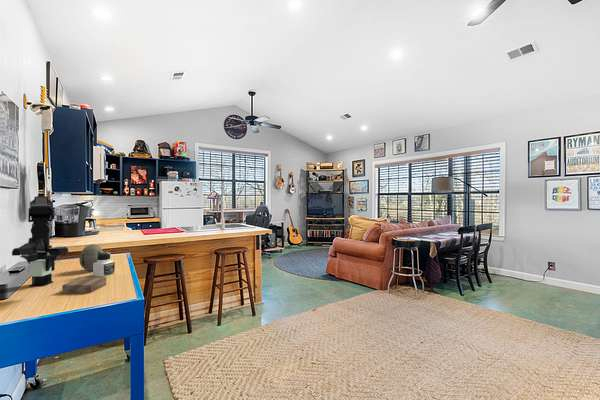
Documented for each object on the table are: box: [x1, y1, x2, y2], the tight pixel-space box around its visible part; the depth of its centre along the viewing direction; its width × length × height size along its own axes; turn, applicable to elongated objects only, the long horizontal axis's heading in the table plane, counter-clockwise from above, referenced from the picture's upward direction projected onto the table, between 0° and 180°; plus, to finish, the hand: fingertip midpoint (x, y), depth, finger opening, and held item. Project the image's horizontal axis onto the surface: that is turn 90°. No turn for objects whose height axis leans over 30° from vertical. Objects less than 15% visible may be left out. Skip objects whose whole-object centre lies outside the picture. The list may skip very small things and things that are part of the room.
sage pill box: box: [29, 260, 52, 277], centre depth 125 cm, size 5×5×6 cm
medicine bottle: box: [92, 252, 116, 278], centre depth 160 cm, size 7×7×12 cm
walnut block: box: [61, 276, 107, 294], centre depth 136 cm, size 12×12×4 cm
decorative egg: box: [78, 244, 105, 272], centre depth 169 cm, size 12×12×15 cm
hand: (40, 271), depth 125 cm, fingers closed on sage pill box, 5 cm apart
